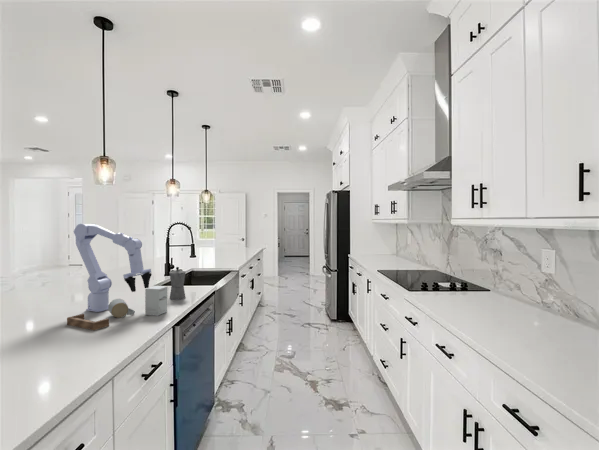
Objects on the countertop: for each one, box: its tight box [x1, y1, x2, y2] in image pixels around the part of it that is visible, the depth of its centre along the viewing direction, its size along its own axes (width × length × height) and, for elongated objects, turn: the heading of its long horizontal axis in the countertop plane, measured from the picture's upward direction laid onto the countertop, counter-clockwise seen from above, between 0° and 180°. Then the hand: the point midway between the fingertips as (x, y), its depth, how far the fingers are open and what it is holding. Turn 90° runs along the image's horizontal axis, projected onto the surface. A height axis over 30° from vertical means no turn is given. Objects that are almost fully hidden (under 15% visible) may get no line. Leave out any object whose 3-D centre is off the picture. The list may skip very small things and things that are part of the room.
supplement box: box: [144, 285, 168, 316], centre depth 159 cm, size 7×7×13 cm
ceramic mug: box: [108, 298, 136, 319], centre depth 155 cm, size 11×8×8 cm
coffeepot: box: [169, 266, 186, 301], centre depth 192 cm, size 15×9×18 cm, turn 44°
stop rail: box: [66, 313, 110, 331], centre depth 141 cm, size 18×6×3 cm, turn 66°
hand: (140, 289), depth 164 cm, fingers open, 7 cm apart
